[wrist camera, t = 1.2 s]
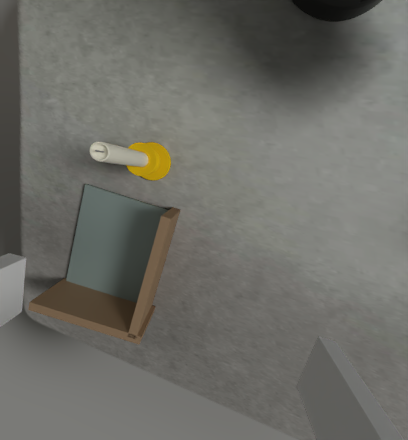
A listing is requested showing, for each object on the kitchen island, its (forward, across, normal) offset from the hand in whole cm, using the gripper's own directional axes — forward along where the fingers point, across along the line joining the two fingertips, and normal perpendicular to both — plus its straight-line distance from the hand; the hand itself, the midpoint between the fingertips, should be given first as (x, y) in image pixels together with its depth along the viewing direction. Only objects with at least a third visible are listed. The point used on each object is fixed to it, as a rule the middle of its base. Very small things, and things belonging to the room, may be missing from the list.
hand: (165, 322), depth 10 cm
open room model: (+24, -12, -8) cm, 27 cm away
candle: (+24, -9, +6) cm, 26 cm away
